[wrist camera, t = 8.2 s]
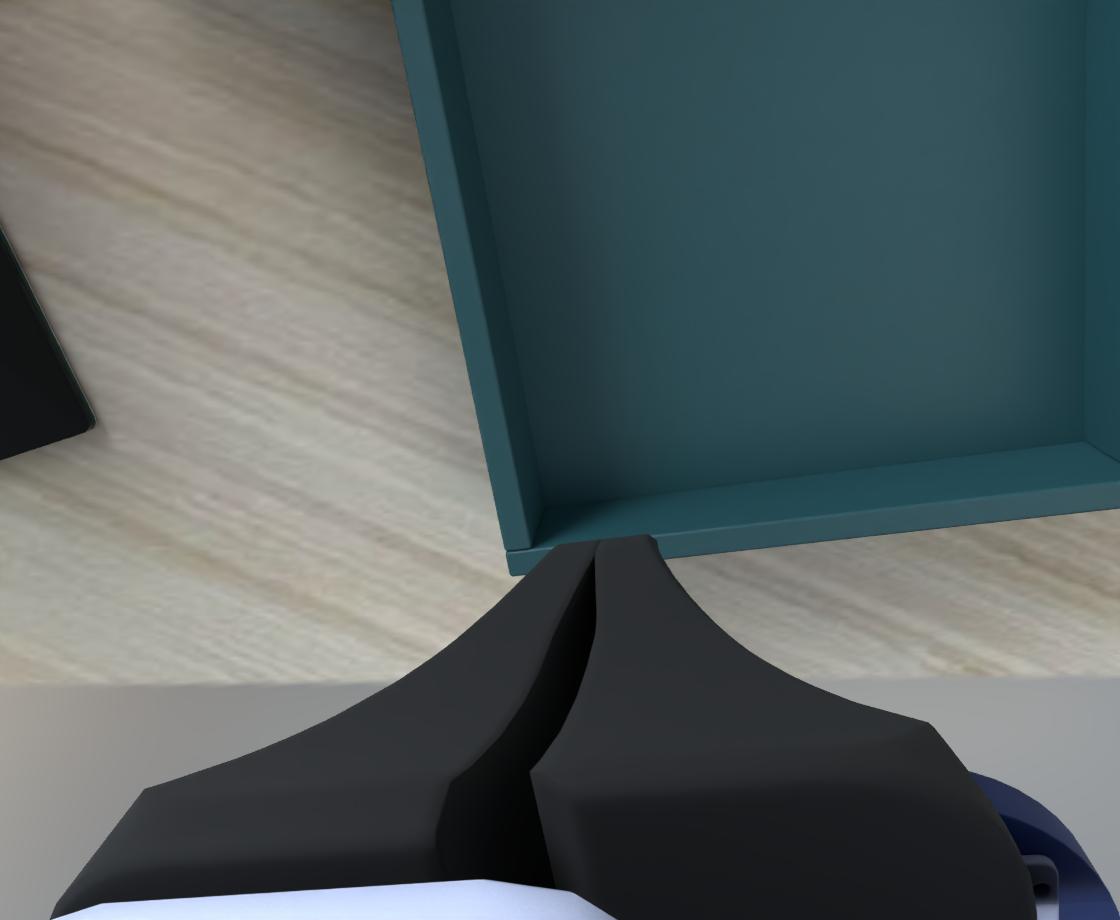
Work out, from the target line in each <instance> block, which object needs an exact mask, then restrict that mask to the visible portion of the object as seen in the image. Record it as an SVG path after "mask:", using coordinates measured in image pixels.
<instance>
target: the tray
mask: <svg viewBox="0 0 1120 920" xmlns="http://www.w3.org/2000/svg"><path fill="white" fill-rule="evenodd" d="M391 4H392V9H393V14H394V19H395V24H396V28H397V33H398V38H399V43H400V48H401V53H402V57H403V62H404V67H405V72H406V77H407V81H408V86H409V91H410V96H411V101H412V106H413V110H414V115H415V120H416V125H417V130H418V134H419V139H420V144H421V149H422V154H423V159H424V163H425V168H426V173H427V178H428V183H429V187H430V192H431V197H432V202H433V207H434V212H435V216H436V221H437V226H438V231H439V236H440V240H441V245H442V250H443V255H444V260H445V265H446V269H447V274H448V279H449V284H450V289H451V293H452V298H453V303H454V308H455V313H456V317H457V322H458V327H459V332H460V337H461V342H462V346H463V351H464V356H465V361H466V366H467V370H468V375H469V380H470V385H471V390H472V395H473V399H474V404H475V409H476V414H477V419H478V423H479V428H480V433H481V438H482V443H483V448H484V452H485V457H486V462H487V467H488V472H489V476H490V481H491V486H492V491H493V496H494V501H495V505H496V510H497V515H498V520H499V525H500V529H501V534H502V539H503V544H504V548H505V550H506V551H507V552H506V558H507V563H508V568H509V573H510V575H511V576H521V575H527V574H528V573H529V572H530V571H531V570H532V569H533V568H534V567H535V566H536V565H537V563H538V562H539V561H540V560H541V559H542V558H543V557H544V556H545V555H546V554H547V553H548V552H549V551H551V550H552V549H553V548H554V547H555V546H557V545H558V544H565V543H573V542H582V541H590V540H598V539H607V538H615V537H624V536H632V535H640V534H649V535H650V536H652V537H653V538H654V539H656V540H657V542H658V548H659V551H660V553H661V555H662V557H663V559H672V558H681V557H690V556H699V555H708V554H717V553H726V552H735V551H744V550H753V549H762V548H771V547H780V546H788V545H797V544H806V543H815V542H824V541H833V540H842V539H851V538H860V537H869V536H878V535H887V534H896V533H905V532H914V531H922V530H931V529H940V528H949V527H958V526H967V525H976V524H985V523H994V522H1003V521H1012V520H1021V519H1030V518H1039V517H1047V516H1056V515H1065V514H1074V513H1083V512H1092V511H1101V510H1110V509H1119V508H1120V0H391Z"/></svg>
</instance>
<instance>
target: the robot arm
mask: <svg viewBox="0 0 1120 920" xmlns="http://www.w3.org/2000/svg"><path fill="white" fill-rule="evenodd" d="M1040 883H1044V884H1043V885H1042V886H1039V887H1034V886H1035V885H1036V884H1040ZM50 920H1059V874H1058V870H1057V868H1056V866H1055V865H1054V863H1053V862H1052V860H1051V859H1050V858H1048V857H1046V856H1044V855H1021V854H1020V852H1019V850H1018V847H1017V845H1016V844H1015V842H1014V840H1013V838H1012V836H1011V834H1010V833H1009V831H1008V829H1007V827H1006V825H1005V824H1004V822H1003V820H1002V819H1001V817H1000V816H999V814H998V813H997V811H996V810H995V808H994V806H993V805H992V803H991V802H990V800H989V799H988V797H987V796H986V795H985V793H984V792H983V791H982V789H981V788H980V786H979V785H978V784H977V782H976V781H975V780H974V778H973V777H972V775H971V774H970V773H969V771H968V770H967V769H966V767H965V766H964V765H963V764H962V762H961V761H960V760H959V758H958V757H957V756H956V755H955V753H954V752H953V751H952V749H951V748H950V747H949V746H948V744H947V743H946V742H945V740H944V739H943V738H942V737H941V736H940V734H939V733H938V732H937V731H936V729H935V728H934V727H933V726H932V725H931V724H929V723H928V722H924V721H921V720H917V719H914V718H910V717H906V716H903V715H899V714H896V713H892V712H888V711H885V710H881V709H877V708H873V707H870V706H866V705H863V704H859V703H856V702H853V701H850V700H848V699H845V698H842V697H840V696H838V695H835V694H832V693H830V692H827V691H825V690H822V689H820V688H817V687H815V686H813V685H810V684H808V683H806V682H804V681H802V680H800V679H798V678H795V677H793V676H791V675H789V674H787V673H786V672H784V671H782V670H780V669H779V668H777V667H775V666H773V665H772V664H770V663H768V662H766V661H764V660H763V659H761V658H759V657H758V656H756V655H755V654H753V653H751V652H750V651H748V650H747V649H746V648H745V647H743V646H742V645H741V644H739V643H738V642H737V641H735V640H734V639H733V638H732V637H731V636H729V635H728V634H727V633H726V632H725V631H724V630H723V629H721V628H720V627H719V626H718V625H717V624H716V623H715V622H714V621H713V620H712V619H711V618H710V617H709V616H708V615H707V614H706V613H705V612H704V611H703V610H702V609H701V608H700V607H699V606H698V605H697V604H696V602H695V601H694V600H693V599H692V598H691V597H690V596H689V594H688V593H687V592H686V590H685V589H684V588H683V587H682V585H681V584H680V583H679V582H678V580H677V579H676V578H675V576H674V575H673V574H672V572H671V571H670V569H669V567H668V566H667V564H666V563H665V561H664V559H663V557H662V555H661V553H660V551H659V548H658V542H657V540H656V539H654V538H653V537H652V536H650V535H649V534H640V535H632V536H624V537H615V538H607V539H598V540H590V541H582V542H573V543H565V544H558V545H557V546H555V547H554V548H553V549H552V550H551V551H549V552H548V553H547V554H546V555H545V556H544V557H543V558H542V559H541V560H540V561H539V562H538V563H537V565H536V566H535V567H534V568H533V569H532V570H531V571H530V572H529V573H528V574H527V575H526V576H525V577H524V578H523V579H522V580H521V581H520V582H519V583H518V584H517V585H516V586H515V587H514V588H513V589H512V590H511V591H510V592H509V593H507V594H506V595H505V596H504V597H503V598H502V599H501V600H500V601H499V602H498V603H497V604H496V605H495V606H494V607H493V608H492V609H490V610H489V611H488V612H487V613H486V614H485V615H484V616H482V617H481V618H480V619H479V620H478V621H477V622H475V623H474V624H473V625H472V626H471V627H470V628H469V629H467V630H466V631H465V632H464V633H463V634H462V635H460V636H459V637H458V638H457V639H456V640H455V641H453V642H452V643H451V644H449V645H448V646H447V647H446V648H444V649H443V650H442V651H440V652H439V653H438V654H436V655H435V656H434V657H432V658H431V659H429V660H428V661H426V662H425V663H423V664H422V665H420V666H419V667H418V668H416V669H415V670H413V671H412V672H410V673H409V674H407V675H406V676H404V677H403V678H401V679H400V680H398V681H396V682H395V683H393V684H392V685H390V686H388V687H386V688H384V689H383V690H381V691H379V692H377V693H375V694H374V695H372V696H370V697H368V698H366V699H365V700H363V701H361V702H359V703H358V704H356V705H354V706H352V707H350V708H348V709H347V710H345V711H343V712H341V713H340V714H338V715H336V716H334V717H332V718H330V719H328V720H326V721H324V722H321V723H319V724H317V725H315V726H313V727H311V728H308V729H307V730H304V731H302V732H300V733H298V734H296V735H293V736H291V737H288V738H286V739H284V740H281V741H279V742H277V743H274V744H272V745H269V746H267V747H265V748H262V749H260V750H257V751H255V752H252V753H250V754H247V755H244V756H242V757H239V758H237V759H234V760H231V761H228V762H225V763H222V764H219V765H216V766H213V767H210V768H207V769H204V770H201V771H198V772H195V773H193V774H189V775H187V776H184V777H181V778H178V779H175V780H172V781H169V782H166V783H163V784H159V785H156V786H153V787H149V788H146V789H144V790H143V791H142V793H141V794H140V796H139V797H138V798H137V799H136V801H135V802H134V803H133V805H132V806H131V807H130V808H129V810H128V811H127V812H126V814H125V815H124V817H123V818H122V819H121V820H120V821H119V823H118V824H117V826H116V827H115V828H114V829H113V831H112V832H111V833H110V834H109V836H108V837H107V838H106V840H105V841H104V842H103V844H102V845H101V846H100V848H99V849H98V850H97V851H96V853H95V854H94V855H93V857H92V858H91V859H90V861H89V862H88V863H87V864H86V866H85V867H84V868H83V870H82V871H81V872H80V873H79V875H78V876H77V878H76V879H75V880H74V881H73V883H72V884H71V885H70V887H69V888H68V889H67V890H66V892H65V893H64V894H63V896H62V897H61V898H60V899H59V901H58V902H57V904H56V906H55V908H54V911H53V913H52V915H51V918H50Z"/></svg>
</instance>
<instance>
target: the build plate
mask: <svg viewBox="0 0 1120 920" xmlns="http://www.w3.org/2000/svg"><path fill="white" fill-rule="evenodd" d="M96 424H97V419H96V416H95V414H94V412H93V410H92V408H91V406H90V404H89V402H88V400H87V398H86V396H85V394H84V392H83V390H82V388H81V386H80V384H79V382H78V380H77V378H76V376H75V374H74V372H73V370H72V368H71V366H70V364H69V362H68V360H67V358H66V356H65V354H64V352H63V350H62V348H61V346H60V344H59V342H58V340H57V338H56V336H55V333H54V331H53V329H52V327H51V325H50V323H49V321H48V319H47V317H46V315H45V313H44V311H43V309H42V307H41V305H40V303H39V301H38V299H37V297H36V295H35V293H34V291H33V289H32V287H31V285H30V283H29V281H28V279H27V277H26V275H25V273H24V271H23V269H22V267H21V265H20V263H19V261H18V259H17V257H16V255H15V253H14V251H13V249H12V247H11V245H10V243H9V240H8V238H7V236H6V234H5V232H4V230H3V228H2V226H1V224H0V460H3V459H6V458H9V457H12V456H15V455H18V454H21V453H24V452H27V451H30V450H33V449H36V448H39V447H42V446H45V445H49V444H52V443H55V442H58V441H61V440H64V439H67V438H70V437H73V436H76V435H79V434H82V433H85V432H87V431H89V430H91V429H93V428H95V426H96Z"/></svg>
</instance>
